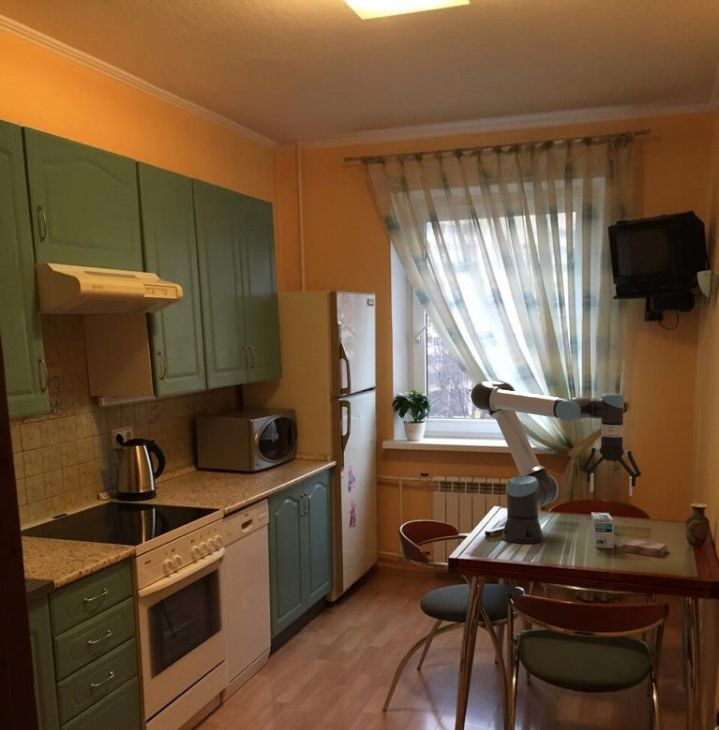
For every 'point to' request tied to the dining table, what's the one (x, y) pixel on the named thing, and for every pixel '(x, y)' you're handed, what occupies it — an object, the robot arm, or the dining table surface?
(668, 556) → the dining table surface
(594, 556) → the dining table surface
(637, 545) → the brown flat tray
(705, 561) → the dining table surface
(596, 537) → the light bulb box
